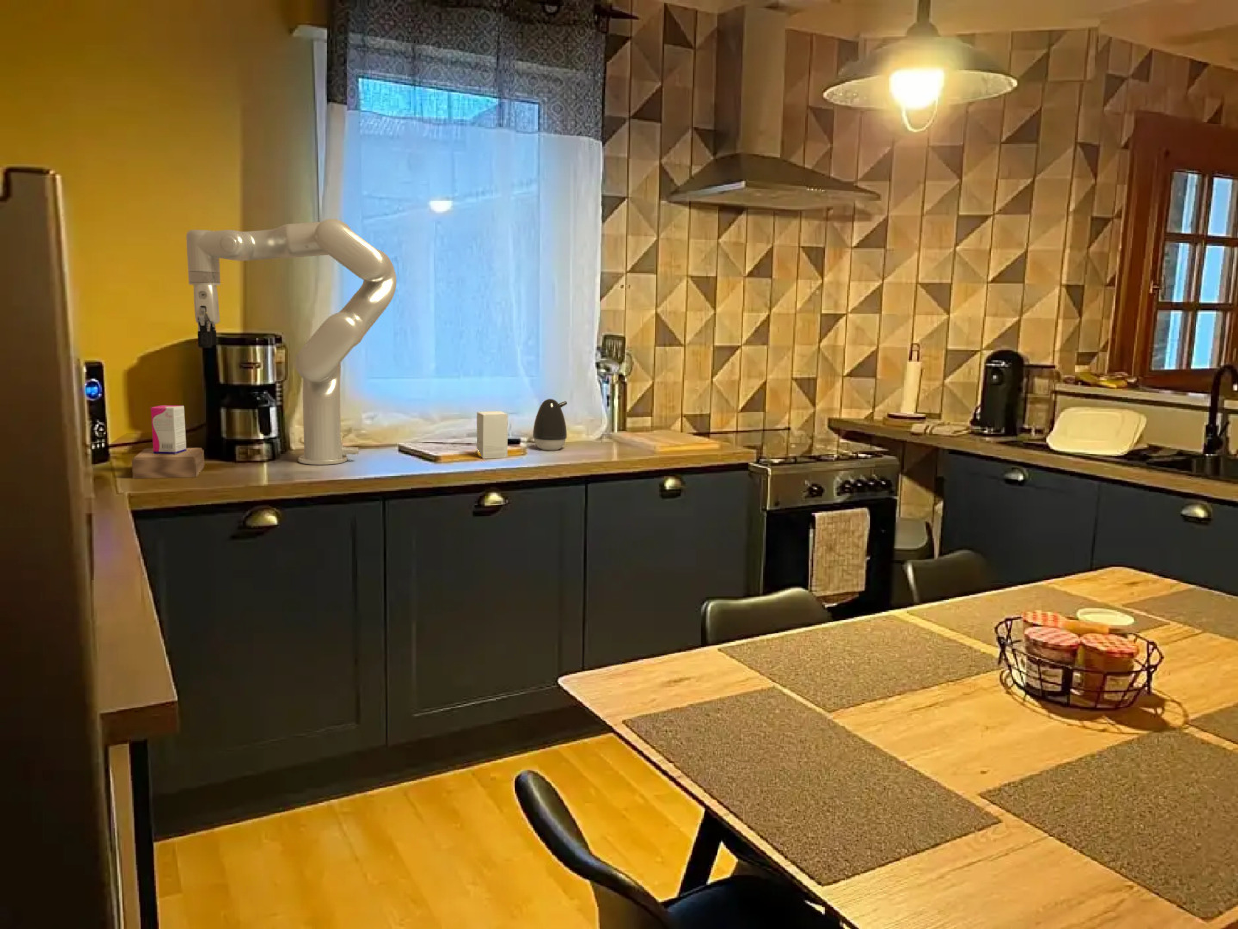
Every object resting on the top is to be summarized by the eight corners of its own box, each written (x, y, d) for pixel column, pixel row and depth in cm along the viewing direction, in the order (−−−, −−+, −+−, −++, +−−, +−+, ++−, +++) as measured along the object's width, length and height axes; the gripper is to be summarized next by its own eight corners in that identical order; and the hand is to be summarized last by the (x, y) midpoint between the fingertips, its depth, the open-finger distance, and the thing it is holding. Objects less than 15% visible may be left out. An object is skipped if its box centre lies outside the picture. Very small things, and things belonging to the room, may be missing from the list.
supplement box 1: (187, 450, 242) (184, 405, 240) (175, 454, 236) (173, 407, 234) (164, 449, 242) (161, 404, 240) (152, 453, 236) (149, 407, 234)
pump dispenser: (572, 451, 289) (573, 400, 286) (539, 452, 284) (540, 401, 282) (559, 445, 298) (560, 396, 295) (527, 447, 293) (528, 397, 291)
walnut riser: (204, 466, 248) (203, 447, 247) (196, 477, 235) (195, 456, 234) (144, 467, 244) (143, 448, 243) (132, 478, 231) (131, 457, 230)
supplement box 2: (508, 458, 273) (508, 413, 271) (482, 459, 271) (482, 414, 268) (501, 453, 280) (501, 410, 278) (476, 454, 277) (476, 411, 275)
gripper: (215, 279, 241) (219, 348, 244) (224, 279, 258) (227, 344, 261) (183, 278, 239) (187, 348, 242) (193, 279, 256) (197, 344, 259)
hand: (207, 346), depth 251 cm, fingers open, 9 cm apart
